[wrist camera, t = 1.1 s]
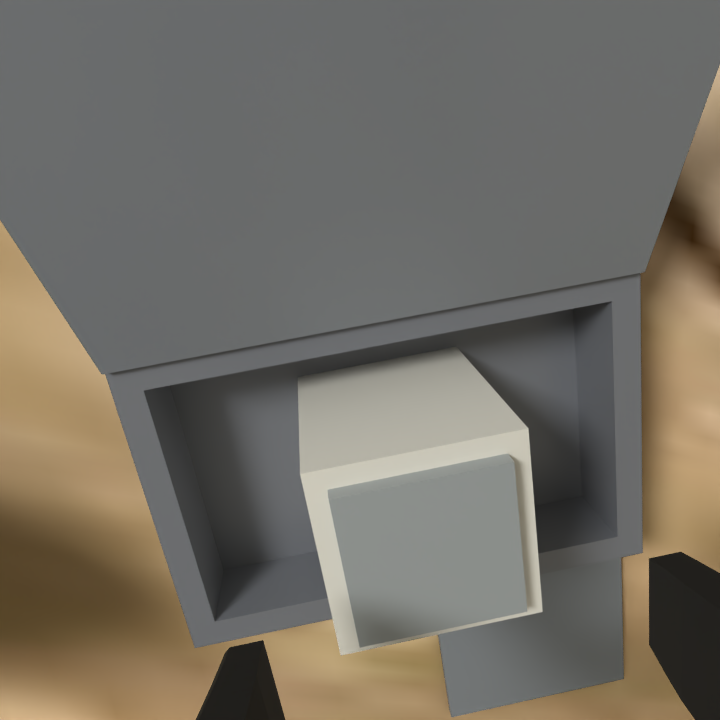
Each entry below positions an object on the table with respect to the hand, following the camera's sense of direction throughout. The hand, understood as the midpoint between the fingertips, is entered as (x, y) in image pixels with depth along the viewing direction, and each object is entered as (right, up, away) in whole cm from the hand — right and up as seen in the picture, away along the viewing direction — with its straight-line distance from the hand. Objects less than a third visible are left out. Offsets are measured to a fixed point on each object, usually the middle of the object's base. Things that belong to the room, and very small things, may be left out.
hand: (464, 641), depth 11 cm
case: (-2, +7, +7) cm, 10 cm away
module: (-1, +3, +8) cm, 9 cm away
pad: (+4, -5, +12) cm, 13 cm away
